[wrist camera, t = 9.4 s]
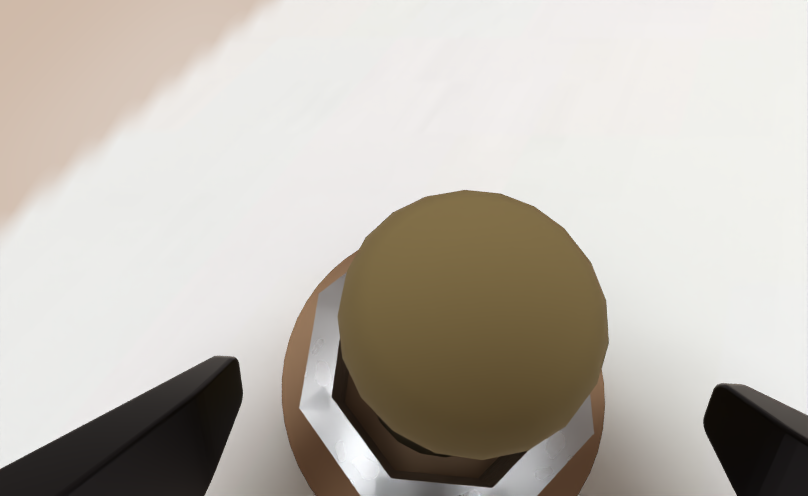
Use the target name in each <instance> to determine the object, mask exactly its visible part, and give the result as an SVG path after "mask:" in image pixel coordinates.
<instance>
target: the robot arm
mask: <svg viewBox="0 0 808 496" xmlns="http://www.w3.org/2000/svg"><path fill="white" fill-rule="evenodd" d="M242 398H243V389H242V381H241V374H240V367H239V362H238V360H237V359H236V358H235V357H231V356H214V357H212V358H210V359H208V360H206V361H204V362H202V363H200V364H198V365H196V366H195V367H193V368H191V369H189V370H187V371H185V372H183V373H181V374H179V375H177V376H176V377H174V378H172V379H170V380H168V381H166V382H164V383H162V384H160V385H158V386H157V387H155V388H153V389H151V390H149V391H147V392H145V393H143V394H141V395H140V396H138V397H136V398H134V399H132V400H130V401H128V402H126V403H124V404H122V405H121V406H119V407H117V408H115V409H113V410H111V411H109V412H107V413H105V414H104V415H102V416H100V417H98V418H96V419H94V420H92V421H90V422H88V423H86V424H85V425H83V426H81V427H79V428H77V429H75V430H73V431H71V432H69V433H68V434H66V435H64V436H62V437H60V438H58V439H56V440H54V441H52V442H50V443H49V444H47V445H45V446H43V447H41V448H39V449H37V450H35V451H33V452H32V453H30V454H28V455H26V456H24V457H22V458H20V459H18V460H16V461H14V462H13V463H11V464H9V465H7V466H5V467H3V468H1V469H0V496H204V495H205V493H206V491H207V489H208V487H209V485H210V483H211V480H212V478H213V476H214V473H215V471H216V468H217V466H218V463H219V461H220V458H221V455H222V453H223V450H224V447H225V445H226V442H227V440H228V437H229V434H230V432H231V429H232V427H233V424H234V421H235V419H236V416H237V414H238V411H239V408H240V406H241V403H242ZM703 424H704V429H705V432H706V434H707V436H708V439H709V441H710V443H711V445H712V447H713V449H714V451H715V453H716V455H717V457H718V459H719V461H720V463H721V465H722V467H723V469H724V471H725V473H726V475H727V477H728V479H729V481H730V483H731V485H732V487H733V489H734V491H735V493H736V495H737V496H808V415H806V414H804V413H802V412H800V411H797V410H795V409H793V408H791V407H789V406H787V405H785V404H783V403H781V402H779V401H777V400H775V399H773V398H771V397H769V396H767V395H765V394H763V393H760V392H758V391H756V390H754V389H752V388H750V387H748V386H746V385H742V384H727V383H721V384H718V385H717V386H716V387H715V388H714V390H713V392H712V395H711V398H710V401H709V404H708V407H707V409H706V412H705V415H704V420H703Z"/></svg>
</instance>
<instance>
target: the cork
mask: <svg viewBox="0 0 808 496" xmlns="http://www.w3.org/2000/svg"><path fill="white" fill-rule="evenodd" d="M337 317H338V325H339V334H340V342H341V350H342V358H343V360H344V362H345V364H346V366H347V369H348V371H349V373H350V375H351V377H352V379H353V381H354V383H355V386H356V388H357V390H358V392H359V394H360V396H361V398H362V399H363V400H364V401H365V402H366V403H367V404H368V405H369V406H370V407H371V408H372V409H373V411H374V412H375V413H376V415H377V417H378V419H379V421H380V423H381V424H382V425H383V426H384V427H385V428H386V430H387V431H388V432H389V433H390V434H391V435H392V436H393V437H394V438H395V439H396V440H397V441H398V442H399V443H401V444H403V445H405V446H407V447H409V448H411V449H413V450H414V451H416V452H418V453H420V454H426V455H432V456H439V457H450V456H458V457H464V458H471V459H478V460H485V459H490V458H495V457H500V456H505V455H509V454H514V453H519V452H524V451H528V450H530V449H531V448H533V447H534V446H536V445H538V444H539V443H541V442H542V441H544V440H545V439H547V438H549V437H550V436H552V435H553V434H555V433H556V432H558V431H560V430H561V429H563V428H564V427H566V426H567V424H568V423H569V422H570V420H571V419H572V418H573V416H574V415H575V413H576V412H577V411H578V409H579V408H580V407H581V405H582V404H583V403H584V401H585V400H586V399H587V397H588V396H589V394H590V393H591V392H592V390H593V389H594V387H595V386H596V385H597V383H598V379H599V376H600V372H601V368H602V365H603V361H604V358H605V354H606V351H607V347H608V344H609V338H608V322H607V307H606V299H605V297H604V294H603V292H602V289H601V287H600V284H599V282H598V279H597V277H596V274H595V272H594V269H593V266H592V264H591V262H590V261H589V259H588V258H587V257H586V256H585V254H584V253H583V252H582V250H581V249H580V248H579V247H578V245H577V244H576V243H575V242H574V240H573V239H572V238H571V236H570V235H569V234H568V233H567V231H566V230H565V229H564V228H563V227H562V226H560V225H559V224H557V223H556V222H555V221H553V220H552V219H551V218H549V217H548V216H546V215H545V214H544V213H542V212H541V211H540V210H538V209H537V208H536V207H534V206H531V205H529V204H526V203H524V202H521V201H518V200H516V199H513V198H511V197H508V196H505V195H503V194H499V193H489V192H479V191H469V190H463V191H457V192H451V193H445V194H439V195H433V196H427V197H424V198H422V199H420V200H418V201H416V202H414V203H412V204H410V205H408V206H405V207H403V208H401V209H399V210H397V211H395V212H393V213H392V214H391V215H390V216H389V217H388V218H386V219H385V220H384V221H383V222H382V223H381V224H380V225H379V226H378V227H377V228H376V229H375V230H373V231H372V232H371V233H370V234H369V235H368V236H367V237H366V238H365V240H364V242H363V243H362V245H361V247H360V249H359V250H358V252H357V254H356V256H355V258H354V259H353V261H352V263H351V265H350V266H349V268H348V270H347V273H346V277H345V281H344V286H343V291H342V296H341V301H340V306H339V311H338V316H337Z"/></svg>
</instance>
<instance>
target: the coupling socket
mask: <svg viewBox="0 0 808 496" xmlns="http://www.w3.org/2000/svg"><path fill="white" fill-rule="evenodd" d="M357 252H358V251H356V252H355V253H353V254H352V255H350V256H349V257H347V258H346V259H345V260H343V261H342V262H341V263H340V264H339V265H338V266H336V267H335V268H334V269H333V270H332V271H331V272H330V273H329V274H328V275H327V276H326V277H325V278H324V279H323V280H322V282H321V283H320V284H319V285H318V286H317V288H316V289H315V290H314V292H313V293H312V295H311V296H310V297H309V299H308V300H307V302H306V304H305V305H304V307H303V309H302V311H301V313H300V315H299V317H298V318H297V321H296V323H295V326H294V328H293V331H292V334H291V336H290V339H289V343H288V347H287V351H286V355H285V359H284V367H283V375H282V406H283V414H284V422H285V427H286V431H287V435H288V438H289V442H290V446H291V449H292V451H293V454H294V456H295V459H296V461H297V464H298V466H299V468H300V470H301V472H302V474H303V475H304V477H305V479H306V481H307V483H308V484H309V486H310V488H311V489H312V491H313V492H314V493H315V495H316V496H577V495H578V494H579V492H580V490H581V488H582V486H583V485H584V483H585V481H586V479H587V477H588V475H589V474H590V471H591V468H592V466H593V463H594V460H595V458H596V455H597V452H598V448H599V444H600V439H601V435H602V430H603V422H604V410H605V398H604V381H603V376H602V370H601V372H600V376H599V379H598V383H597V385H596V386H595V387H594V389H593V390H592V392H591V393H590V394H589V396H588V397H587V399H586V400H585V401H584V403H583V404H582V405H581V407H580V408H579V409H578V411H577V412H576V413H575V415H574V416H573V418H572V419H571V420H570V422H569V423H568V424H567V426H566V427H564V428H563V429H561V430H560V431H558V432H556V433H555V434H553V435H552V436H550V437H549V438H547V439H545V440H544V441H542V442H541V443H539V444H538V445H536V446H534V447H533V448H531V449H530V450H528V451H524V452H519V453H514V454H509V455H505V456H500V457H495V458H490V459H485V460H478V459H471V458H464V457H458V456H450V457H439V456H432V455H426V454H420V453H418V452H416V451H414V450H413V449H411V448H409V447H407V446H405V445H403V444H401V443H399V442H398V441H397V440H396V439H395V438H394V437H393V436H392V435H391V434H390V433H389V432H388V431H387V430H386V428H385V427H384V426H383V425H382V424H381V423H380V421H379V419H378V417H377V415H376V413H375V412H374V411H373V409H372V408H371V407H370V406H369V405H368V404H367V403H366V402H365V401H364V400H363V399H362V398H361V396H360V394H359V392H358V390H357V388H356V386H355V383H354V381H353V379H352V377H351V375H350V373H349V371H348V369H347V366H346V364H345V362H344V360H343V358H342V350H341V342H340V334H339V325H338V317H337V316H338V311H339V306H340V301H341V296H342V291H343V286H344V281H345V277H346V273H347V270H348V268H349V266H350V265H351V263H352V261H353V259H354V258H355V256H356V254H357Z"/></svg>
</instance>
